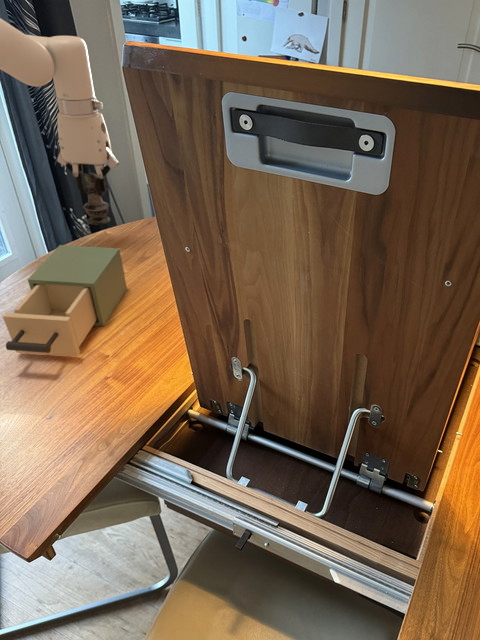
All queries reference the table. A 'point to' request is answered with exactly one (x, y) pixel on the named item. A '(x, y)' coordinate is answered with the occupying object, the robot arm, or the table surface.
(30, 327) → the drawer
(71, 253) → the cabinet
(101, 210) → the brown carved figurine
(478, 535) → the table surface
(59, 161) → the robot arm
